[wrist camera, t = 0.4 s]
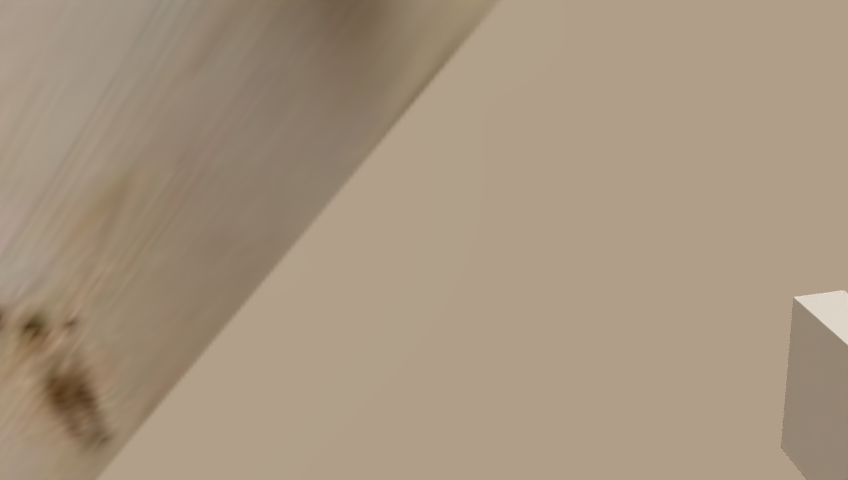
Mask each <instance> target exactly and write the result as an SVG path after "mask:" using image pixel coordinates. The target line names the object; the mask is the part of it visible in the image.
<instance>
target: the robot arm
mask: <svg viewBox="0 0 848 480" xmlns="http://www.w3.org/2000/svg"><path fill="white" fill-rule="evenodd" d="M785 394H786V395H785V405H784V418H783V429H782V442H781V448H782V449H783V451H784V452H785V453H786V454H787V456H788V457H789V458H790V460H791V461H792V462H793V463H794V465H795V466H796V467H797V468H798V470H799V471H800V472H801V473H802V475H803V476H804V477H805V479H806V480H848V293H847V292H845V291H844V290H842V291H835V292H827V293H820V294H813V295H805V296H798V297H793V309H792V322H791V333H790V346H789V358H788V370H787V382H786V393H785Z"/></svg>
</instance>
